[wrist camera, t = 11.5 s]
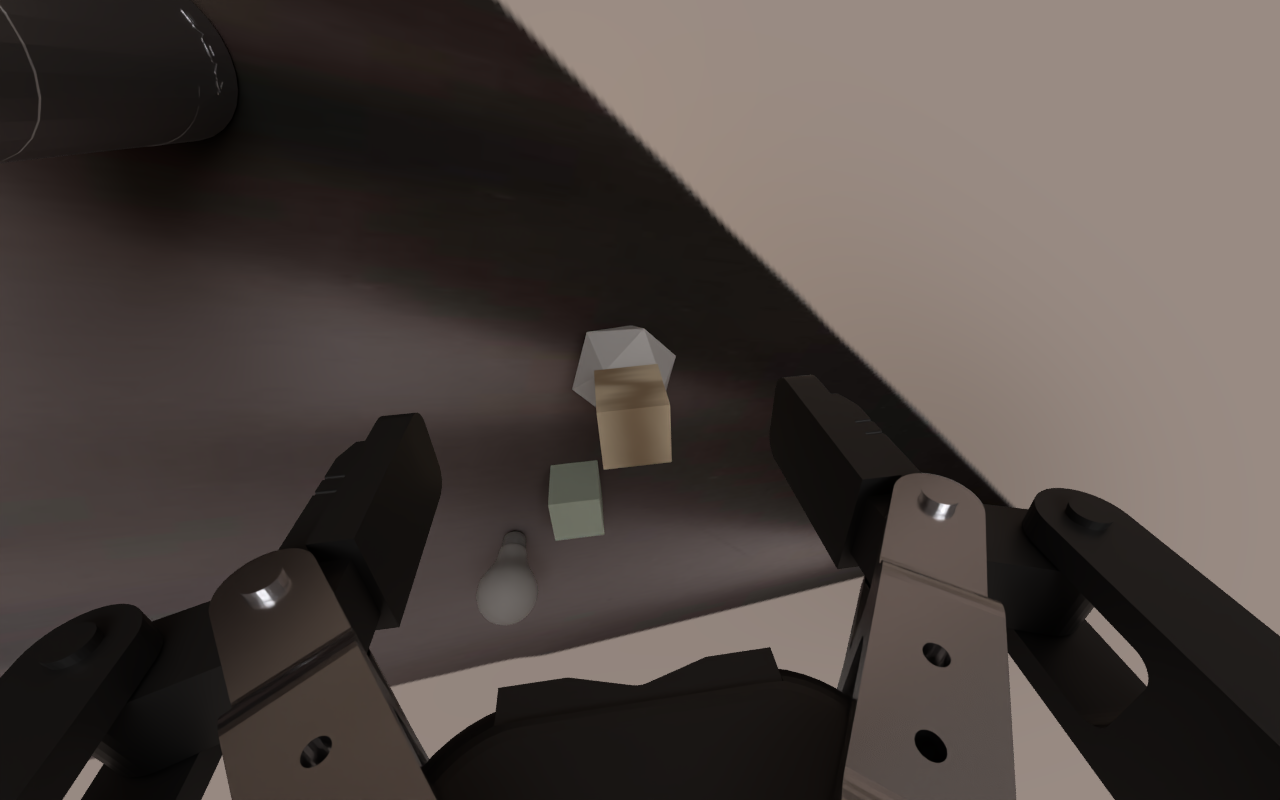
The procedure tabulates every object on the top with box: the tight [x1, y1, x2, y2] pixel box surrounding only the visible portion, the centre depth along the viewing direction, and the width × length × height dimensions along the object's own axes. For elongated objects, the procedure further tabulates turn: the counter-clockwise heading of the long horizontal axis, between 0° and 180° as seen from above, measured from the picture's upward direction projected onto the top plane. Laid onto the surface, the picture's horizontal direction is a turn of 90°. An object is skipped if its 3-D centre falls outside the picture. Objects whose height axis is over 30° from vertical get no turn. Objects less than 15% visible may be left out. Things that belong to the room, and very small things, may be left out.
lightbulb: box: [476, 531, 538, 626], centre depth 52 cm, size 6×6×11 cm
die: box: [572, 325, 676, 407], centre depth 42 cm, size 8×9×10 cm
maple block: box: [594, 364, 672, 470], centre depth 37 cm, size 5×5×6 cm
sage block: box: [548, 460, 604, 541], centre depth 51 cm, size 5×5×6 cm
